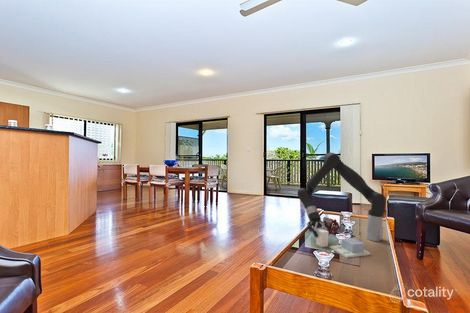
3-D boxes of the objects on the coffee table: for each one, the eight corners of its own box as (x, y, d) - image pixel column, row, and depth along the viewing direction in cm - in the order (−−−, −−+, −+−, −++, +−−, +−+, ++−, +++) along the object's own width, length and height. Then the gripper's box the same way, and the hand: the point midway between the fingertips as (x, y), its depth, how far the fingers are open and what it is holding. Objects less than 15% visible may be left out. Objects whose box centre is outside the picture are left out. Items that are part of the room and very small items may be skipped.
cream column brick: (322, 243, 164) (323, 229, 163) (327, 246, 159) (328, 231, 159) (316, 243, 162) (317, 229, 162) (321, 246, 158) (322, 232, 157)
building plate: (352, 245, 163) (352, 236, 162) (370, 254, 149) (371, 244, 149) (329, 247, 157) (330, 238, 156) (346, 257, 144) (347, 247, 143)
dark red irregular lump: (338, 235, 180) (339, 221, 179) (320, 231, 187) (321, 217, 187) (340, 233, 185) (341, 219, 185) (323, 229, 193) (324, 216, 192)
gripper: (306, 211, 166) (316, 234, 155) (324, 210, 170) (334, 233, 160) (301, 217, 171) (310, 239, 161) (318, 216, 176) (328, 238, 165)
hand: (322, 236), depth 160 cm, fingers open, 8 cm apart
